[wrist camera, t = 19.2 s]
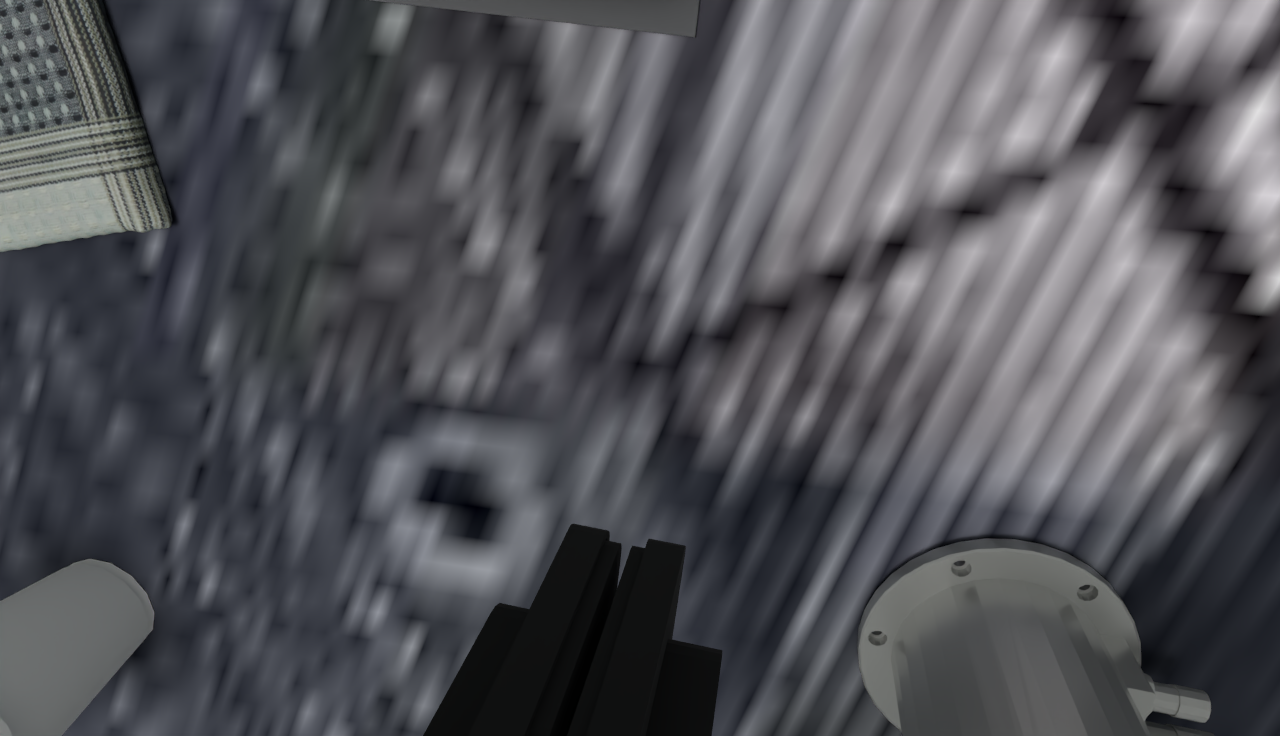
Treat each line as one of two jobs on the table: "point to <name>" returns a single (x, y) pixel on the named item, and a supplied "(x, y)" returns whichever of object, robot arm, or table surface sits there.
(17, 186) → the dish towel
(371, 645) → the table surface
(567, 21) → the dock mat
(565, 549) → the robot arm
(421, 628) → the table surface
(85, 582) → the foam cup
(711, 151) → the table surface
